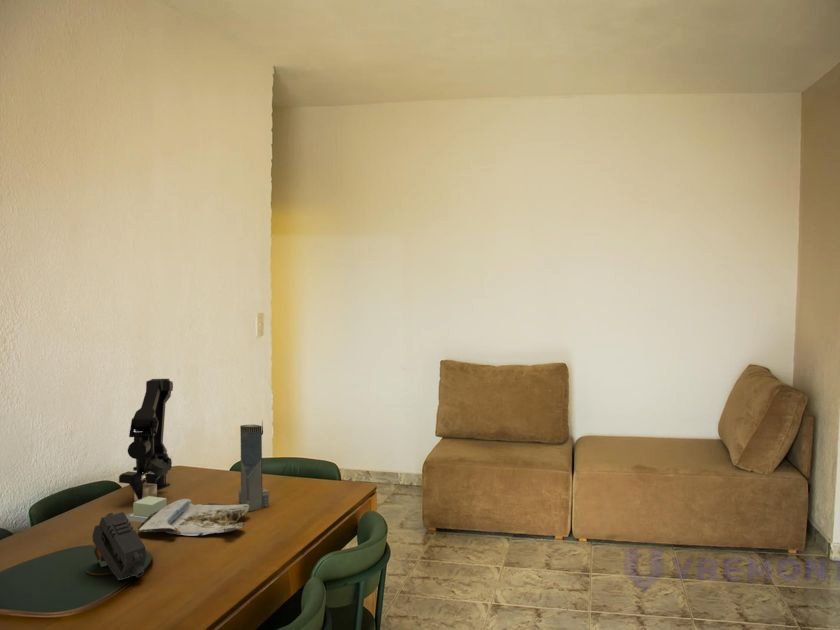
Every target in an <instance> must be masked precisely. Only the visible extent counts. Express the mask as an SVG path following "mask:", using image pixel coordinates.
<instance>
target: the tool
mask: <svg viewBox="0 0 840 630" xmlns="http://www.w3.org/2000/svg"><path fill="white" fill-rule="evenodd" d="M126 515H127V514H125V512H124V511H123V512H122V511H121V512H118V513H115V514H114V513H113V512H109V513H107V514H106V516H102V517H100V521H99V524H98V525H95V526H94V529H93V532H92V535H91V536H92V542H93V544H94V545H95V548H94V550H93V554H94V556H95V558H96V559H98V560H99V559H100V560H101V562H102V561H106V563H107V565H108V566H107V567H108V568H109V569H110V571H111V573H112V574H113V576H114V575H115V576H117V577H118V578H120V579H122V578H125V577H128V576H131V575H133V574H135V575H136V576H135V577H136V578H140V577H142V576H143V575H144V573H145V571H144V569H143V567H144V566H145V564H146V560H147V558H148V557H147V550H146V549H147V548H146V545H145V544H144V543H143V541H142V540H141V538H140V536H139V535H138V532H137V531H136V530H135V529H134V527H133V525H132V523H131V521H129V520H128V518H127V517H126ZM98 560H97V561H98ZM115 576H114V577H115Z"/></svg>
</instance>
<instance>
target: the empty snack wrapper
mask: <svg viewBox="0 0 840 630" xmlns="http://www.w3.org/2000/svg"><path fill="white" fill-rule="evenodd" d="M248 509H249V505H248V504H239V503H237V504H226V503H225V504H222V503H216V502H215V503H212V502H211V503H202V504H199V503H198V504H193V503H192V500H191V499H190V498H182V499H178V500H175V501H173V502H172V503H169V504H167V506H166V507H164V508H163V509H161V510H159V511H157V512H155V513H153V514H151V515H150V516H149V517H148V518H147V519H146V520H145V521H144V522H143V523H141V524H140V525H139V526H138V527H137V528H136V530H137V531H138V532H139V533H146V532H147V533H160V532H165V533H167V534H171V535H177V536H181V535H182V536H187V537H188V536H193V537H194V536H205V535H210V534H215V533H216V534H219V533H230V532H233V531H235V530H239V529H242V528H243V527H244V526H245V525H246V524H245V523H244V522H238V521H239V520H240V519H241V517H243V516H244V515H245V514H246V513H248V512H247V510H248ZM176 529H177V530H176Z"/></svg>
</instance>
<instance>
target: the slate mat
mask: <svg viewBox="0 0 840 630" xmlns="http://www.w3.org/2000/svg"><path fill="white" fill-rule="evenodd" d="M125 515H126V517H127V518H128V520H129V521H128V522H134V523H135V522H136V523H141V524H142V523H143V522H144V521H145V520H146V519H147V518H148V517H143V516H136V515H134V514H133V511H131V512H129V513H126V514H125Z"/></svg>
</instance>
